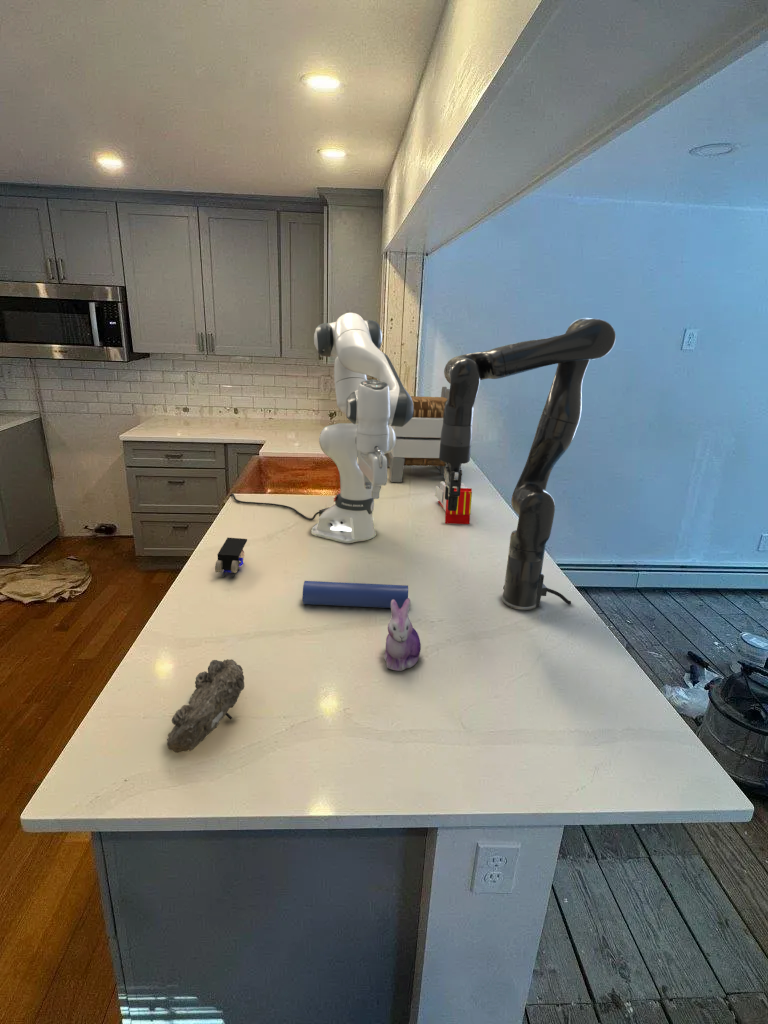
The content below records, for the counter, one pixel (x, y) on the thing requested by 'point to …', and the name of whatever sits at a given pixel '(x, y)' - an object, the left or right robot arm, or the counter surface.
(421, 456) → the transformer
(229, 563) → the figurine character
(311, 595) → the rod
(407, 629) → the figurine
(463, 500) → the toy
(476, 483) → the counter surface
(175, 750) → the fossil
